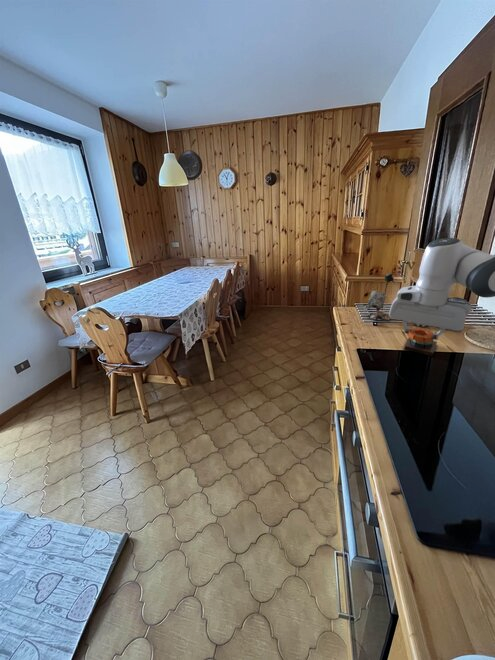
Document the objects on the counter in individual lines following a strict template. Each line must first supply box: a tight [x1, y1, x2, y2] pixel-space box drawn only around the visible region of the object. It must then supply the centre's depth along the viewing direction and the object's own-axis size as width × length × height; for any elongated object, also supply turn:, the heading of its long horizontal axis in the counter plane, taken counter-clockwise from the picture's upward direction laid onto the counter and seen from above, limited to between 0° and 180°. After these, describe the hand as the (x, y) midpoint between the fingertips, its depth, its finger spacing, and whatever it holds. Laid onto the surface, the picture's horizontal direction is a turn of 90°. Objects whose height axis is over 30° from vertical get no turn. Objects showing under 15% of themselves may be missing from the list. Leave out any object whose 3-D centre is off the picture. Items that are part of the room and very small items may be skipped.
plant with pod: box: [363, 272, 395, 321], centre depth 124 cm, size 8×11×20 cm
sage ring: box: [413, 334, 435, 345], centre depth 102 cm, size 7×7×2 cm
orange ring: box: [407, 327, 434, 342], centre depth 91 cm, size 7×7×2 cm
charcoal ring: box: [410, 339, 433, 349], centre depth 103 cm, size 7×7×2 cm
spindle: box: [403, 335, 438, 357], centre depth 102 cm, size 9×9×6 cm
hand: (420, 335), depth 91 cm, fingers closed on orange ring, 7 cm apart
